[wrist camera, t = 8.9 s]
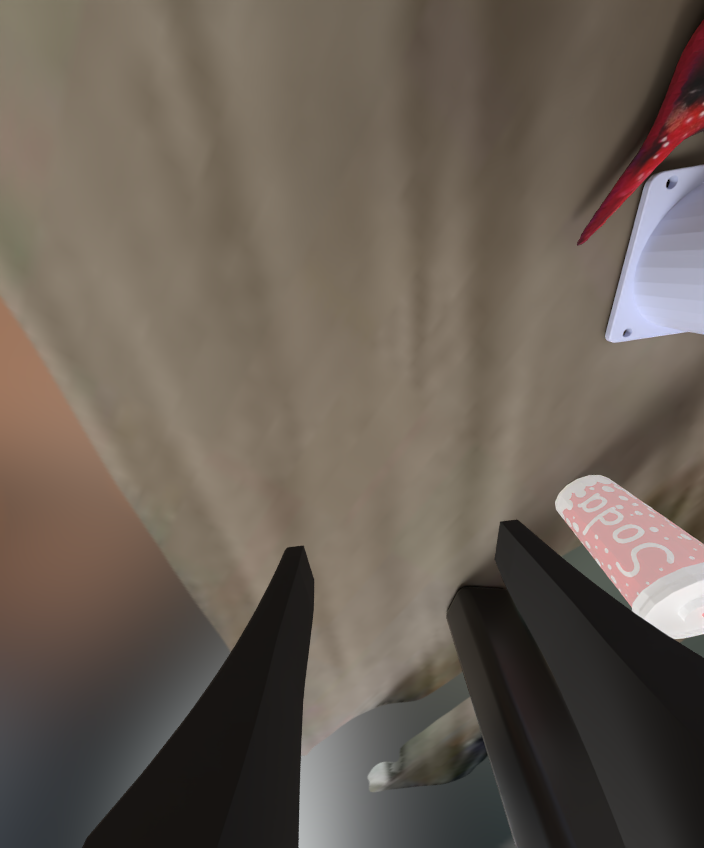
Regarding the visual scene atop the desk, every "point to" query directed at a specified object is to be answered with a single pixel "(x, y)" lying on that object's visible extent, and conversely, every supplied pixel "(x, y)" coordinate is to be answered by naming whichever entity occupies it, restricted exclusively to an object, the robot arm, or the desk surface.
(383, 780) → the desk surface
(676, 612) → the beverage cup
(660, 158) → the decorative bird figurine
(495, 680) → the wine bottle
